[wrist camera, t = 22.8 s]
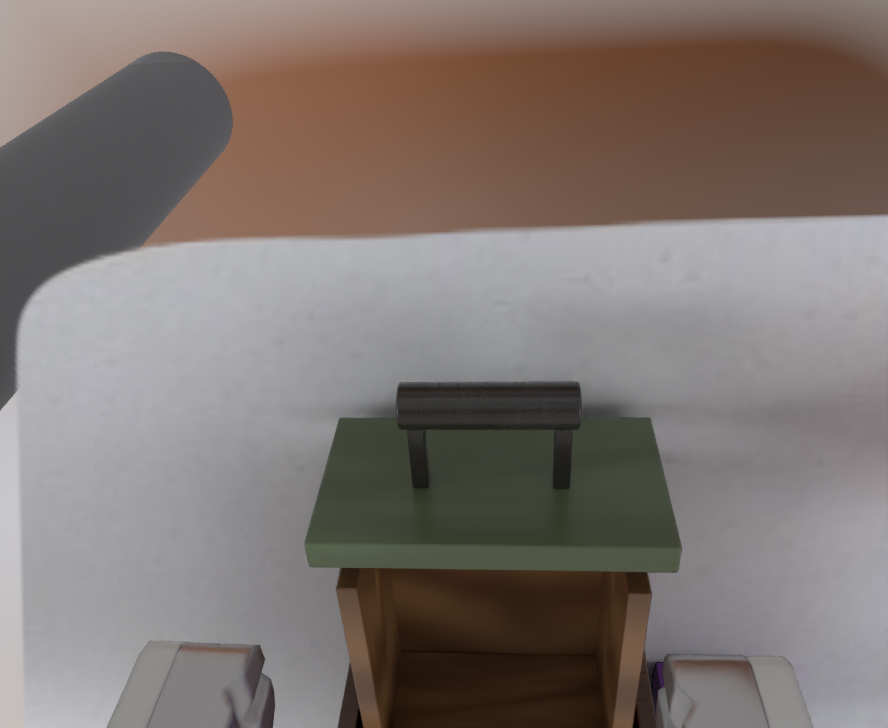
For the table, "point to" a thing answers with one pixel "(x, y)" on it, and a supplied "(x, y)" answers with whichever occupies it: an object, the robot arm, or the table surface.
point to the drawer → (494, 556)
